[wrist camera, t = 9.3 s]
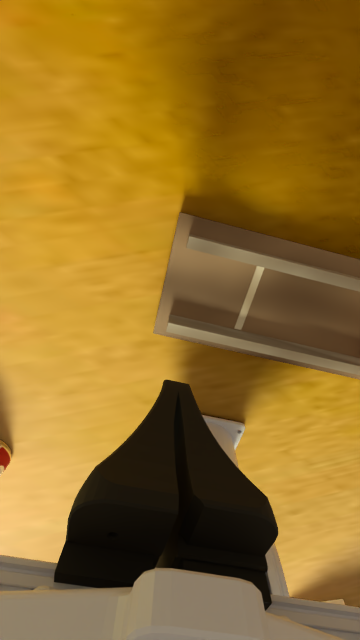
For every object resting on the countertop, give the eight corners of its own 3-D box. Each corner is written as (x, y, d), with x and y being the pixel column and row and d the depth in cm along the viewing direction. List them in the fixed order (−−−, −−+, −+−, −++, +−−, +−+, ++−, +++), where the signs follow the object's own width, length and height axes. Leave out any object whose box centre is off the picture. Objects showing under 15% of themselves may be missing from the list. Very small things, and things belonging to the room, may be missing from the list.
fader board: (425, 387, 25) (458, 410, 22) (154, 326, 23) (150, 343, 20) (496, 295, 21) (548, 309, 18) (180, 212, 19) (179, 212, 16)
